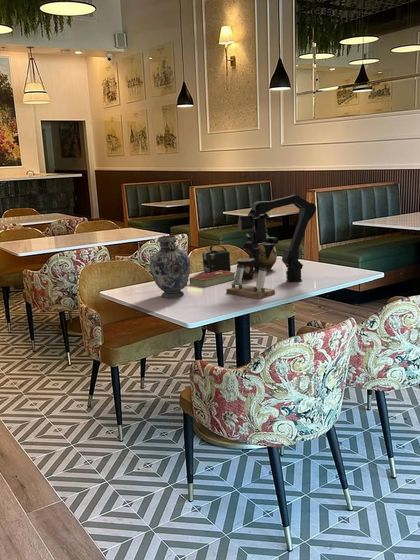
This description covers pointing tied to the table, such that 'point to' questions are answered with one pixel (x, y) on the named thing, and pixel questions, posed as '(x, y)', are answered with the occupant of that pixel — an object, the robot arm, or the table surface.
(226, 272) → the hardcover book
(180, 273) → the decorative vase
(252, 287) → the switch box
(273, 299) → the table surface
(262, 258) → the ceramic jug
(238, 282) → the lever
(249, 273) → the coffee mug
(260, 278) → the lever
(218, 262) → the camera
